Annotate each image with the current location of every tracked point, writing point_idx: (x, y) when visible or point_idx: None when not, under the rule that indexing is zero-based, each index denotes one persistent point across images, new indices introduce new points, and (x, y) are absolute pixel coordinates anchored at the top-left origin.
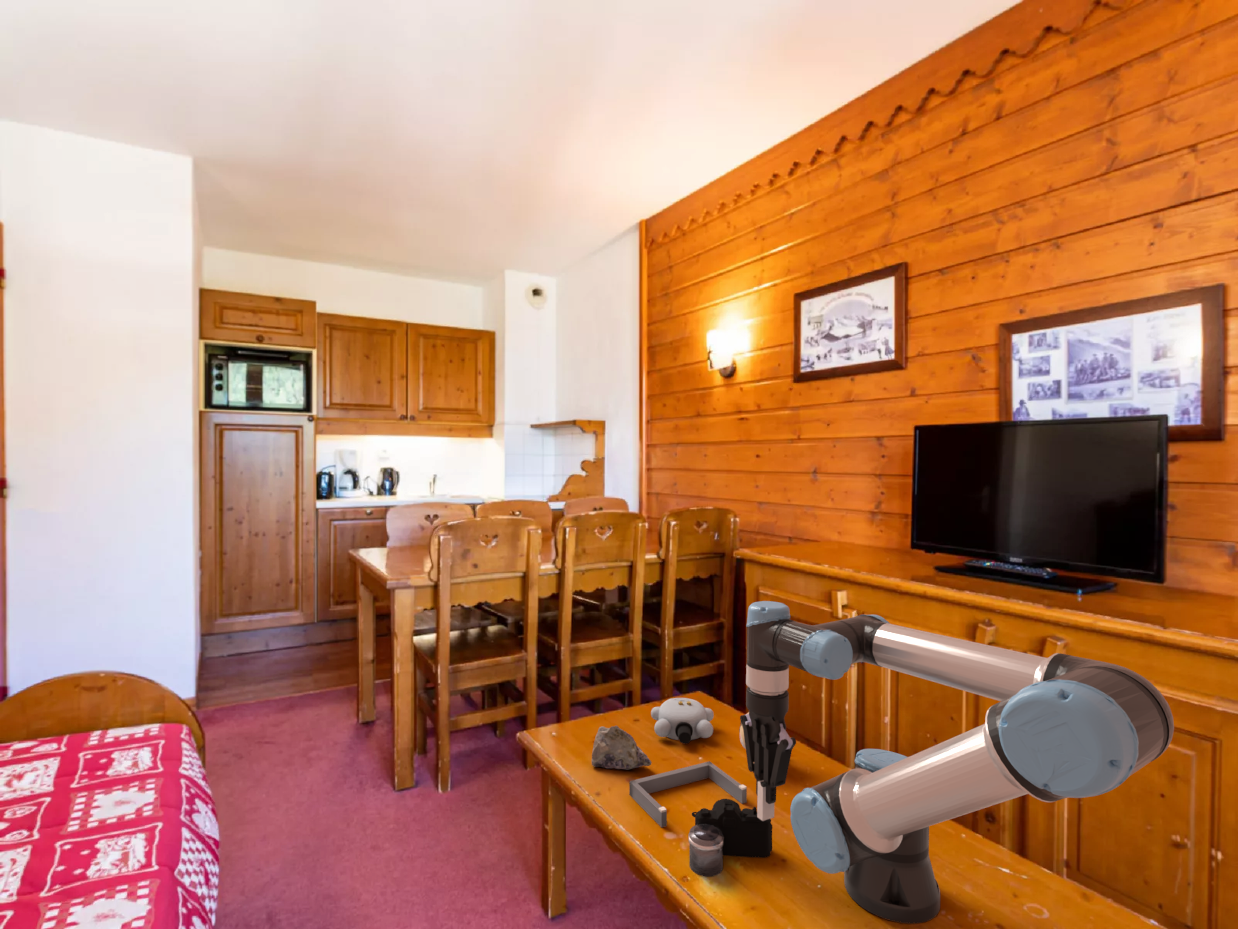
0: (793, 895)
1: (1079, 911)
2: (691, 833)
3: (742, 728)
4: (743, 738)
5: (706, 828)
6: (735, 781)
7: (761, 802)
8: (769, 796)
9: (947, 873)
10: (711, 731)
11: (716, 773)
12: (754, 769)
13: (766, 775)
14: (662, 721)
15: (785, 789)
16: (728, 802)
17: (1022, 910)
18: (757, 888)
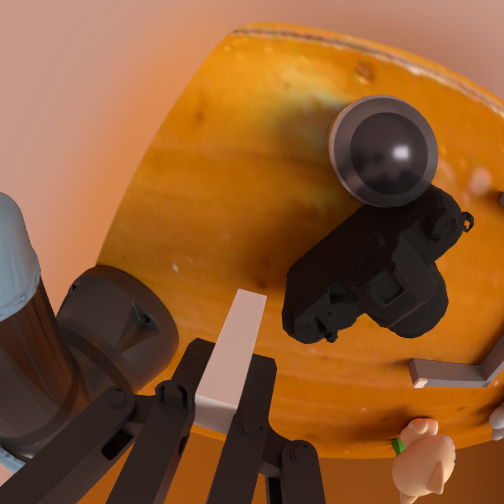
0: (179, 211)
1: None
2: (419, 119)
3: (450, 458)
4: (446, 447)
5: (401, 169)
6: (437, 384)
7: (228, 333)
8: (183, 360)
9: None
10: (491, 421)
11: (471, 377)
12: (261, 457)
13: (152, 436)
14: None
15: (368, 414)
16: (400, 303)
17: None
18: (234, 170)
